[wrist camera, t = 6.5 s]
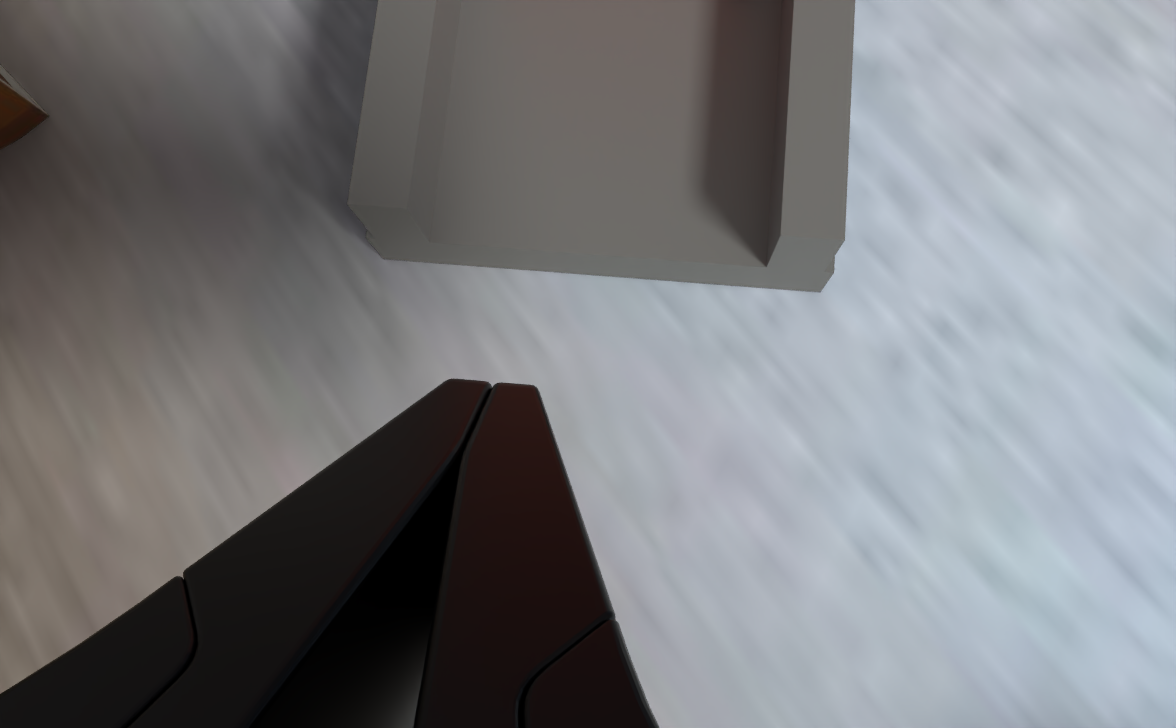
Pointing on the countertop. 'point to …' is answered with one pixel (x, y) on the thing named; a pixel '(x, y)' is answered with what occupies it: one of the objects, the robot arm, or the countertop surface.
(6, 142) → the food container
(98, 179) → the countertop surface
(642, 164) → the grey slotted holder tray
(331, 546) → the robot arm
